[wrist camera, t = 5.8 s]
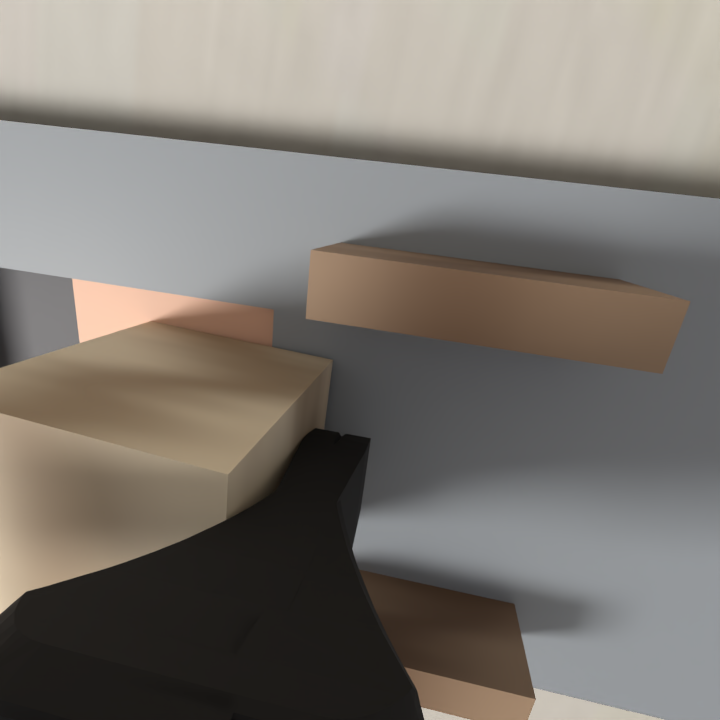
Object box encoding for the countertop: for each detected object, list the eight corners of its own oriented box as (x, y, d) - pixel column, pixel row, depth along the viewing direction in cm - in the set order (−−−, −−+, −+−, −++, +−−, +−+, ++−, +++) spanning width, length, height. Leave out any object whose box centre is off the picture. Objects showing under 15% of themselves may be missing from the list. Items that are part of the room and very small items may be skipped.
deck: (938, 233, 9) (1069, 237, 7) (694, 666, 14) (736, 736, 12) (-104, 117, 12) (-202, 98, 10) (-15, 506, 17) (-71, 541, 15)
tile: (296, 294, 12) (274, 307, 10) (284, 494, 14) (263, 533, 13) (122, 268, 13) (71, 276, 11) (137, 464, 15) (97, 497, 13)
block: (333, 359, 10) (227, 474, 5) (312, 523, 12) (217, 719, 7) (150, 321, 11) (-78, 391, 6) (154, 480, 13) (-22, 630, 8)
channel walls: (620, 279, 9) (690, 301, 6) (504, 634, 12) (522, 732, 10) (340, 242, 9) (310, 249, 7) (306, 588, 13) (279, 671, 10)
